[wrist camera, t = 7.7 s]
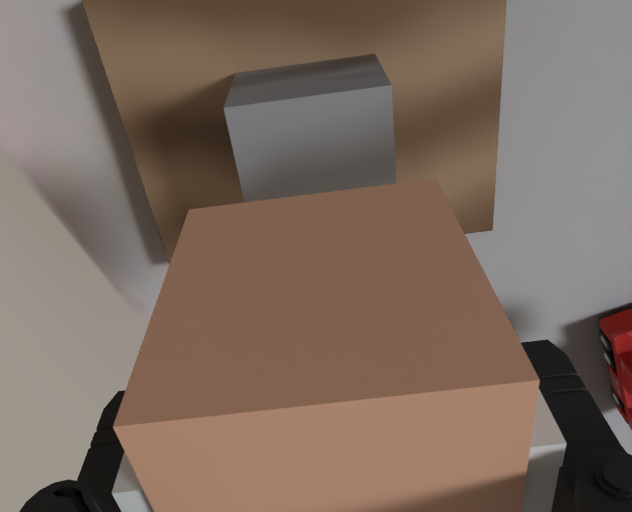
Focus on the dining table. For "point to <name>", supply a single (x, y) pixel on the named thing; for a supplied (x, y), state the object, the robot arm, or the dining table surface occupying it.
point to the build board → (271, 31)
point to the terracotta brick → (329, 363)
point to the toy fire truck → (619, 358)
